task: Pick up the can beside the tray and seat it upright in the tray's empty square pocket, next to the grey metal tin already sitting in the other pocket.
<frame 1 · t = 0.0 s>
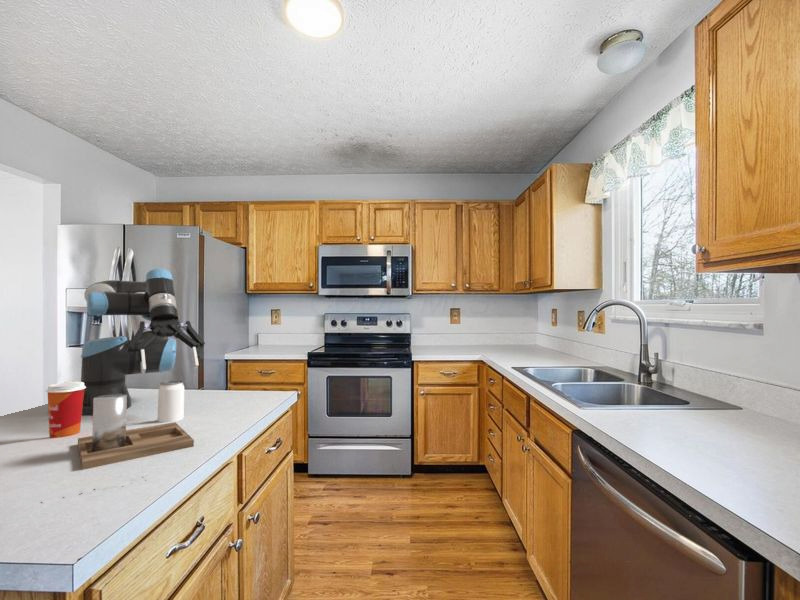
hand: (171, 369, 114), 15 cm above the countertop, tool tilted 35°, fingers open, 13 cm apart
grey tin: (108, 450, 86), point 1 cm above the countertop, touching tray
paper cup: (64, 440, 97), on the countertop
can: (170, 424, 111), on the countertop
tray: (135, 452, 89), on the countertop
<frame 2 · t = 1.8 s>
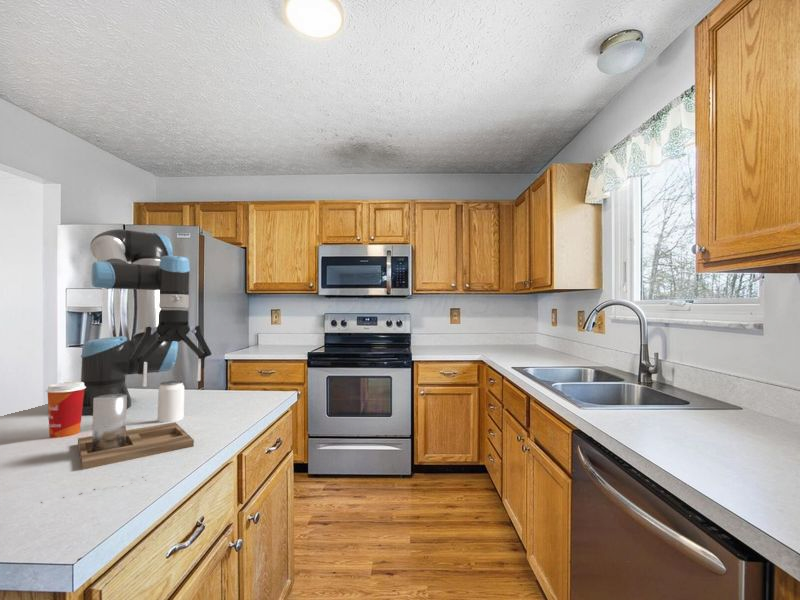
hand: (172, 383, 111), 12 cm above the countertop, tool pointing down, fingers open, 13 cm apart
nothing on the countertop moved.
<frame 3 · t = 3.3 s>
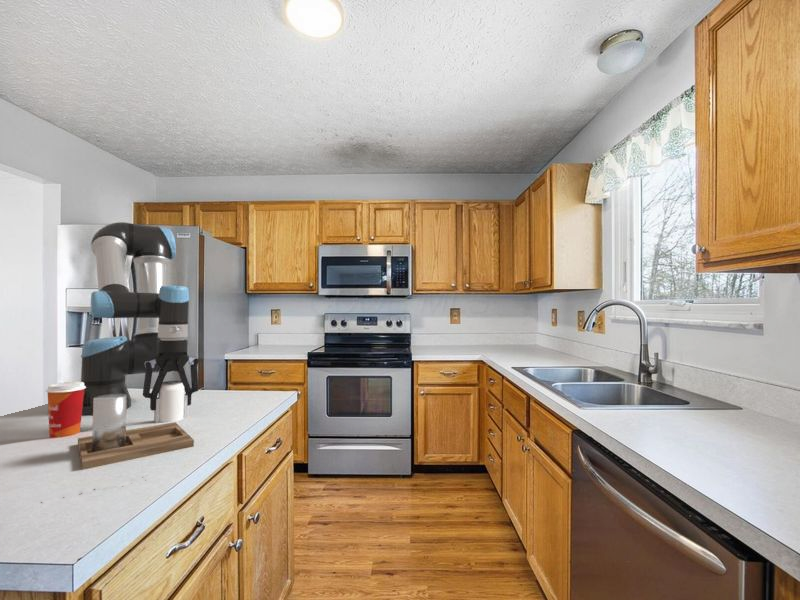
hand: (170, 418, 111), 1 cm above the countertop, tool pointing down, fingers closed on can, 6 cm apart
can: (170, 424, 111), on the countertop, touching gripper
everything else where it was.
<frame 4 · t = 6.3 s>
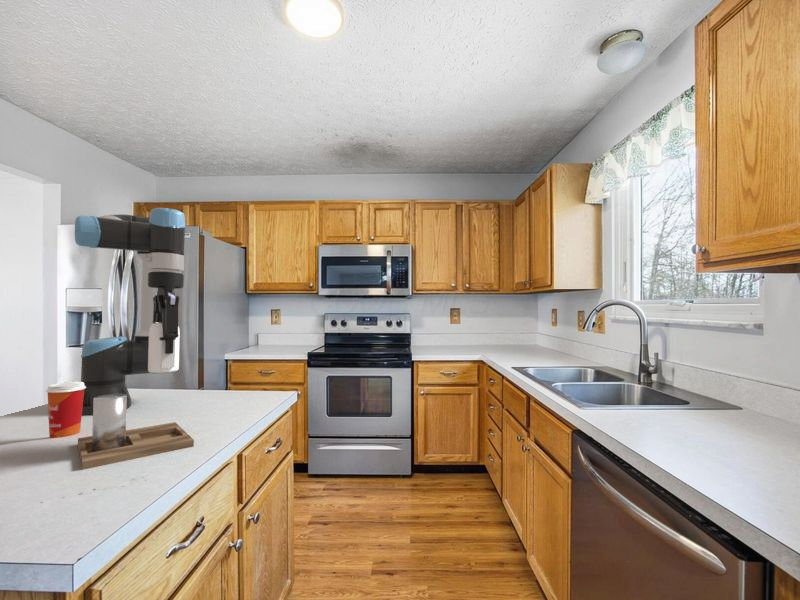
hand: (163, 365, 94), 19 cm above the countertop, tool pointing down, fingers closed on can, 6 cm apart
can: (163, 372, 94), point 18 cm above the countertop, touching gripper
everything else where it was.
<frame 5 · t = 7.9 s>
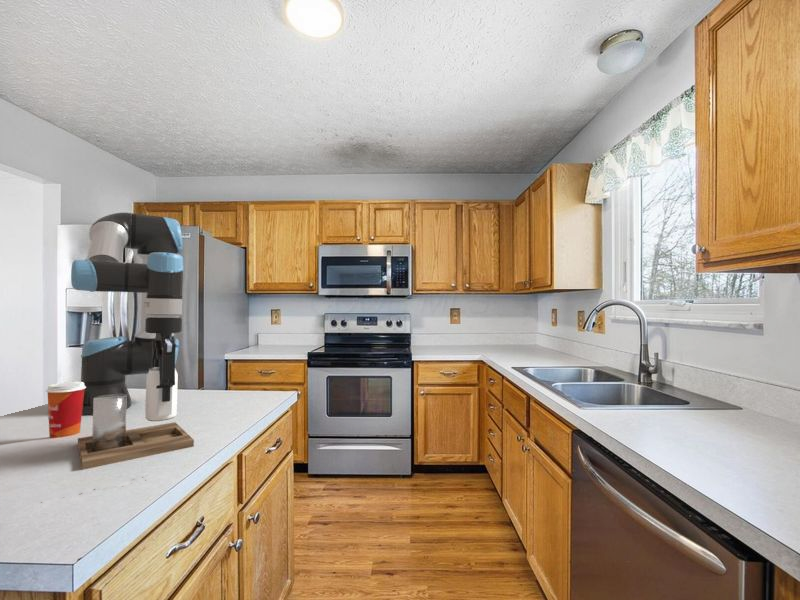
hand: (161, 411, 93), 8 cm above the countertop, tool pointing down, fingers closed on can, 6 cm apart
can: (161, 418, 93), point 7 cm above the countertop, touching gripper
everything else where it was.
when the fingers open (5 cm above the countertop, at t = 9.2 s): can drops 2 cm, resting on tray.
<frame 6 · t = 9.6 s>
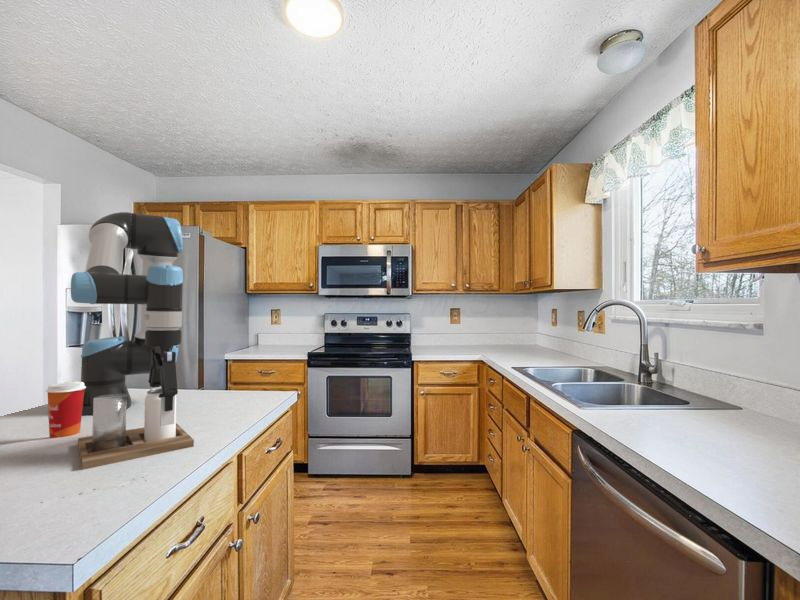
hand: (161, 418, 93), 7 cm above the countertop, tool pointing down, fingers open, 12 cm apart
can: (160, 441, 93), point 1 cm above the countertop, touching tray
everything else where it was.
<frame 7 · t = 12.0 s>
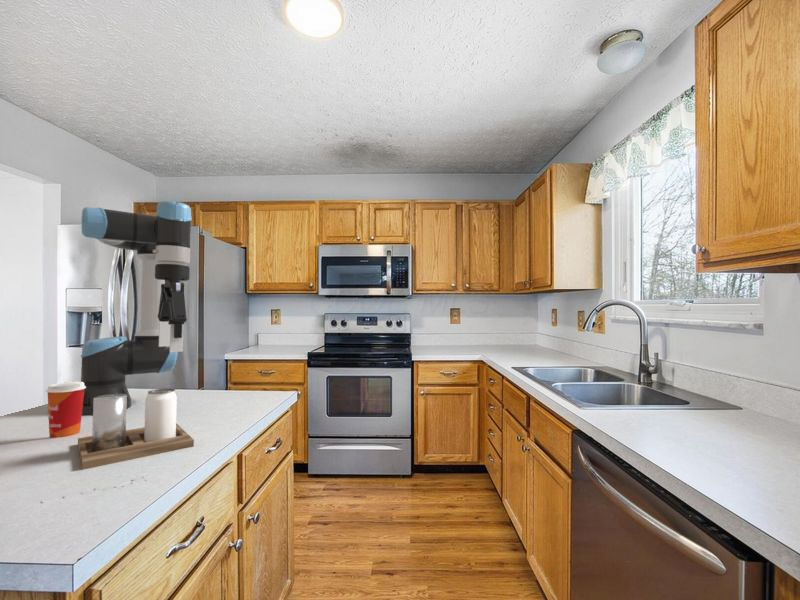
hand: (170, 349, 96), 23 cm above the countertop, tool pointing down, fingers open, 13 cm apart
nothing on the countertop moved.
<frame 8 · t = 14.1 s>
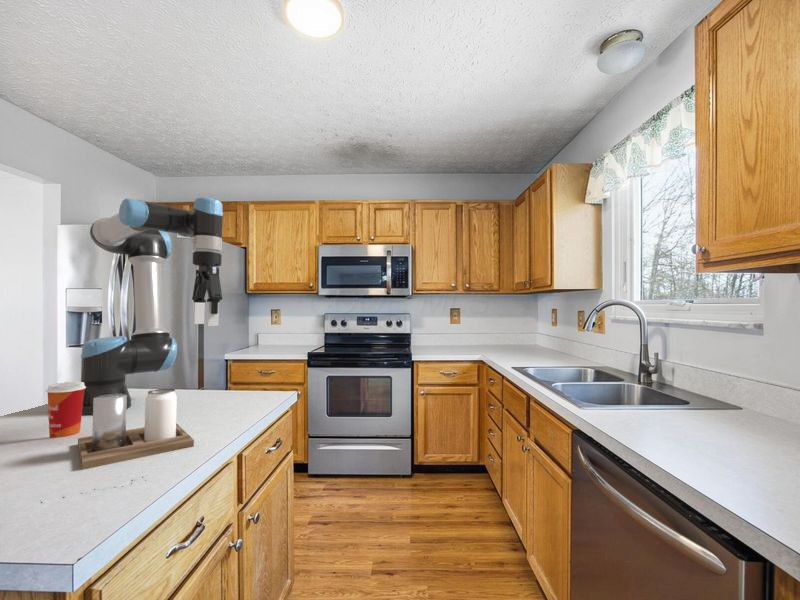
hand: (205, 325, 112), 29 cm above the countertop, tool pointing down, fingers open, 13 cm apart
nothing on the countertop moved.
at the end: can 0.2 cm from the target spot on the tray, point 1.3 cm above the tray's base; can tilted 0°; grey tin moved 0.0 cm from its start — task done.
